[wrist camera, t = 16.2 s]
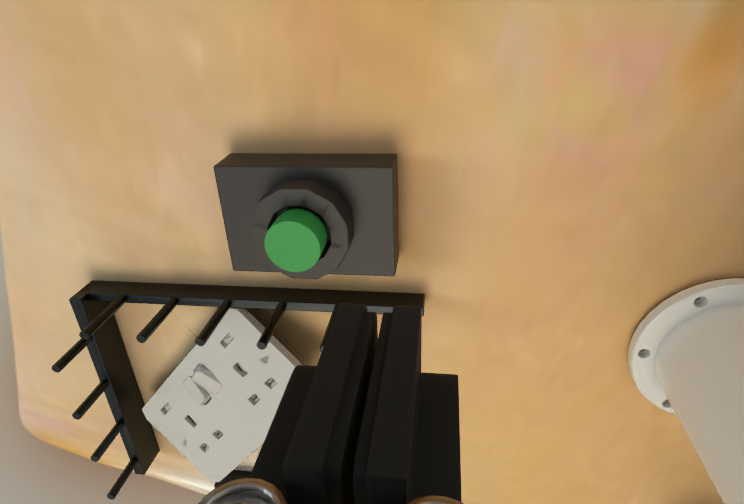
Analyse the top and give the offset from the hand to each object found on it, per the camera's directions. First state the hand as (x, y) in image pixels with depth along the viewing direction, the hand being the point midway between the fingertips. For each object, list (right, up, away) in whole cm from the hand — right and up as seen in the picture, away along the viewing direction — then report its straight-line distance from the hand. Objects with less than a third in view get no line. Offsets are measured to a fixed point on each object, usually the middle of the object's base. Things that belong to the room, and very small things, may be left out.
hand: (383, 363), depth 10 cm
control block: (-4, +6, +26) cm, 27 cm away
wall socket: (-13, -9, +36) cm, 39 cm away
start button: (-5, +4, +22) cm, 23 cm away
